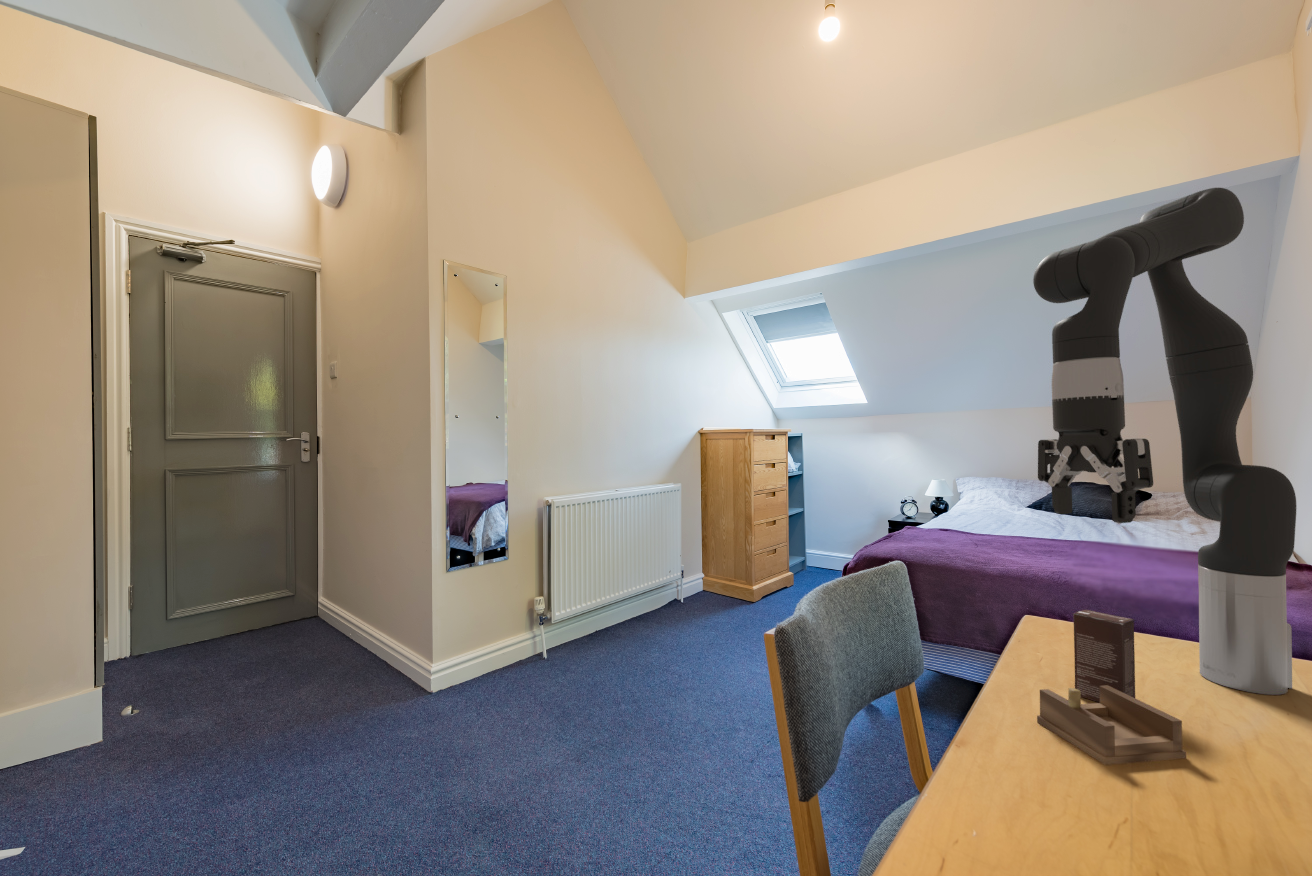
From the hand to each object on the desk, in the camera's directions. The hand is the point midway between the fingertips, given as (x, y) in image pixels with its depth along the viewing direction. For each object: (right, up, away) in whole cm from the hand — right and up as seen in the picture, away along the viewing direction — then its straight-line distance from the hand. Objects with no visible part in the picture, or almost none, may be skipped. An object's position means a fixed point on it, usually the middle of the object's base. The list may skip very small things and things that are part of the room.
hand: (1091, 517), depth 73 cm
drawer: (-2, -27, -4) cm, 27 cm away
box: (+7, -27, +6) cm, 29 cm away
